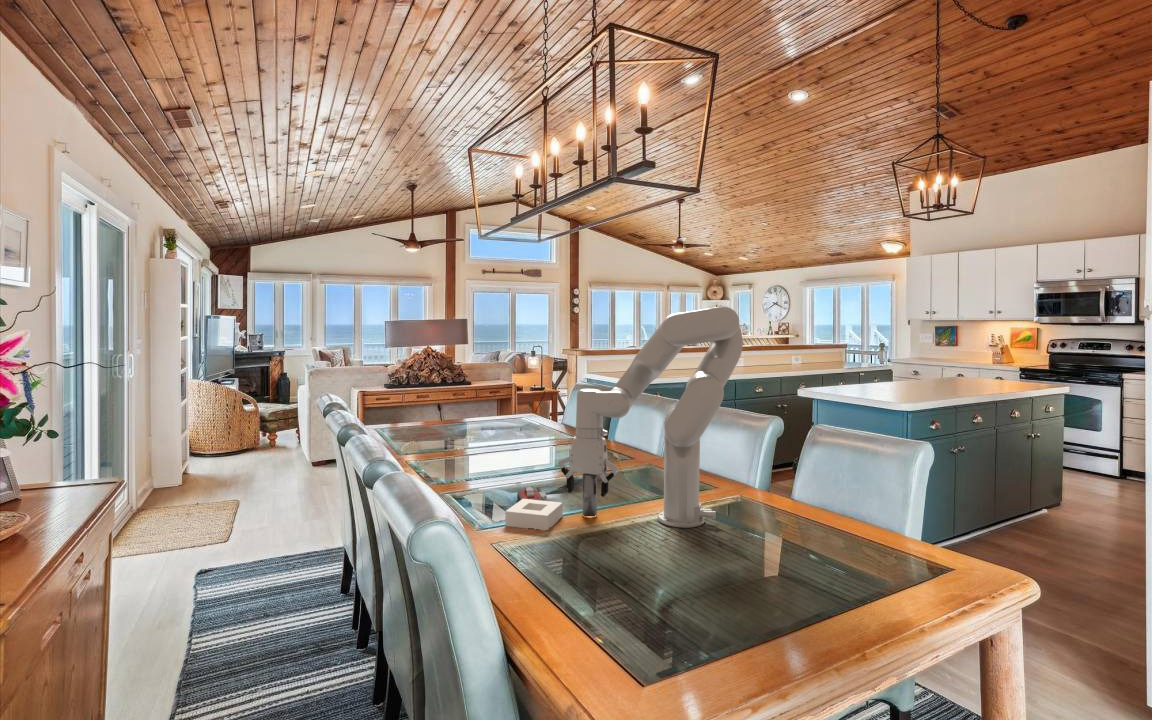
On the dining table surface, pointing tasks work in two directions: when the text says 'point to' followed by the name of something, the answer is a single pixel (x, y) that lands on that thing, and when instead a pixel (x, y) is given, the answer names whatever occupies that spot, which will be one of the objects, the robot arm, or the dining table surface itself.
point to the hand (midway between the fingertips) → (587, 493)
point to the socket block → (534, 514)
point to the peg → (589, 495)
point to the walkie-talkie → (532, 494)
